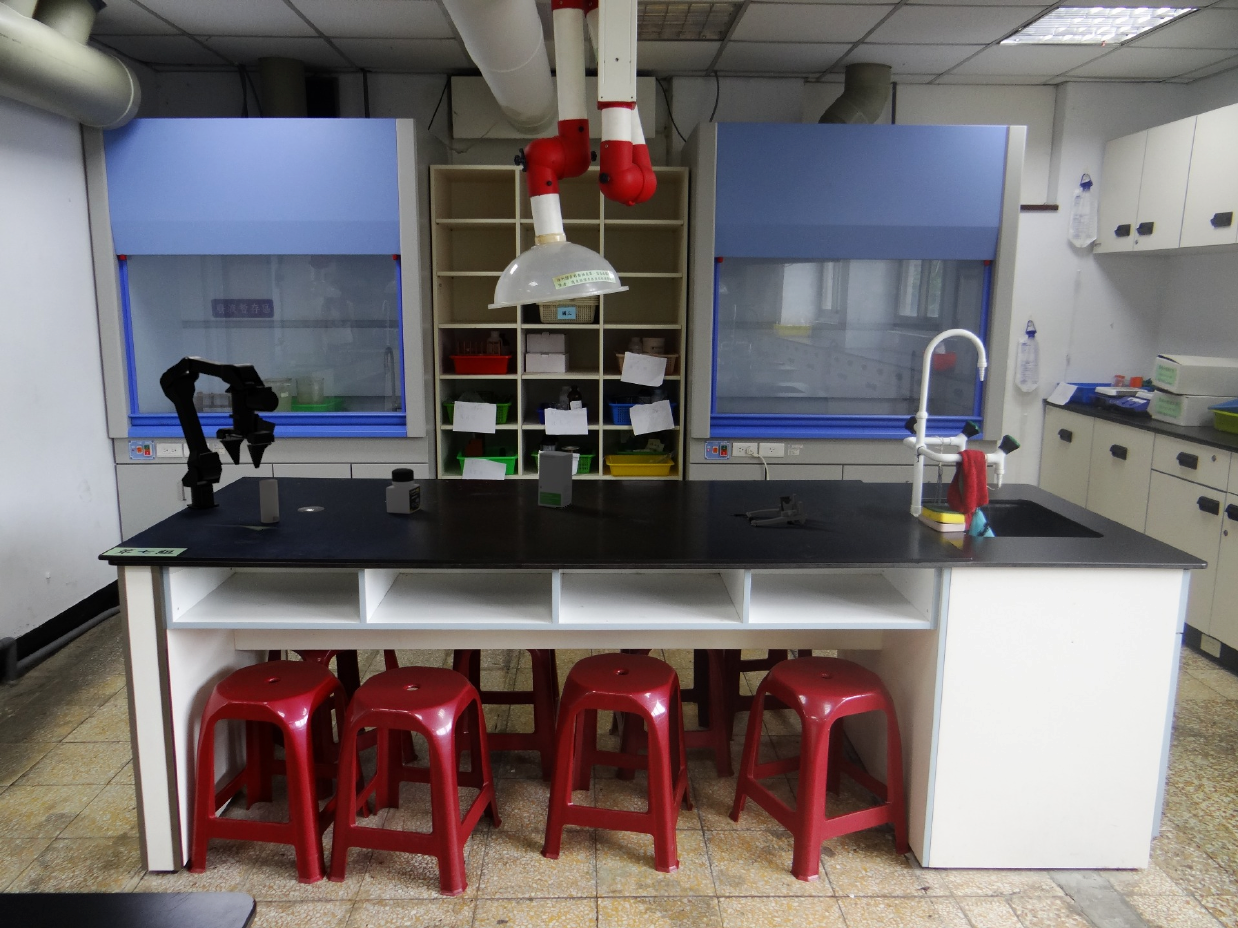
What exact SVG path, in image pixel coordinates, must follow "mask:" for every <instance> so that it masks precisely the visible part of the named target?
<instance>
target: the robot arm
mask: <svg viewBox="0 0 1238 928" xmlns="http://www.w3.org/2000/svg"><path fill="white" fill-rule="evenodd" d="M200 374H202V375H206V376H211V377H216V378H219V379H221V380H222V382H223V383H225V384H227V385H229V386H228V387H227V388H226V389H225V390H224V393H225V394H230V400H231V412H232V413H229V414H228V418H230V419H232V426H230V427H223V428H218V429H217V430H216V432H215V436H216V439H217V440H219V443H220V444H221V445H222V446H223V448H224V449H225V451H226V452H227V454H228V455H229V458H231V460H232V463H233V464H234V465H235V466H239V465H240V463H241V462H240V461H241V445H242V443H243V442H244V440H246V441H247V443H248V444H246V446H247V450H248V452H249V456H250V459H251V462H252V465H253V467H254V469H260V467H261V463H262V459H263V456H264V453H265V450H266V449H267V448H268V447H269V446H271V445H273V443H275V442H276V437H275V434H274V433H275V429H276V424H277V423H275V422H272V421H269V420H265V419H263V417H260V414H259V412H264V413H265V412H266V413H273V412H275V411H276V410H277V409H278V407H279V404H280V403H279V402H280V400H279V397H278V395H277V393H276V392H275V391H273V387H272V386H271V385H269V386H268V385H267V386H266V385H265V383H264V381H263V380H262V378H261V376H260V375H259V373H258V372H257V370H256V368H255V366H254V365H253V364H252V363H226V362H222V361H217V360H212V359H209V358H203V357H201V356H199V355H195V356H194V355H193V356H184V357H182V358H181V359H180V361H178V362H177V363H176V364H174V365H172V366H171V367H169V368H167V370H166V371H164V372H163V373H162V374H161V376H160V378H159V385H160V388H161V389H162V393H163V394H164V396H165V397H166V398H167V399H168V400H169V401H170V402H171V403H172V404H173V405H174V409H175V411H176V415H177V417H178V421H179V424H180V427H181V430H182V433H183V437H184V440H185V443H186V445H187V449H188V452H189V454H188V457H187V461H186V466H187V471H186V472H185V474H184V475H183V476H182V478H181V483H182V486H183V487H184V488H190V499H191V503H187V504H186V507H187V508H192V509H196V510H201V509H206V508H211V507H216V506H217V507H218V506H220V503H219V502H215V491H214V485H216V484H220V482H221V477H222V473H223V462H222V461H221V457H220V453H219V452H218V451H213V450H211V449H210V447H209V446H208V442H207V439H206V437H205V436H206V435H205V433H204V431H203V427H202V424H201V421H200V418H199V415H198V411H197V408H196V405H195V402H194V397H195V393H196V384H195V383H196V382H197V381H198V380H199V378H200ZM257 412H258V413H257Z"/></svg>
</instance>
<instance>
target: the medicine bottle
mask: <svg viewBox="0 0 1238 928" xmlns="http://www.w3.org/2000/svg"><path fill="white" fill-rule="evenodd" d="M391 484H392V485H390V486H387V487H386V488H385V495H386V512H387V513H389V514H390V513H392V514H407V515H408V514H410V515H411V514H412V513H414V512H416V511H418V510H420V509H421V485H420V484H419V483H415V473H414V469H412V468H409V467H398V468H395V469H393V470H392V471H391Z"/></svg>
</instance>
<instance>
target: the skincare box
mask: <svg viewBox="0 0 1238 928" xmlns="http://www.w3.org/2000/svg"><path fill="white" fill-rule="evenodd" d="M538 456H539V458H538V461H539V462H538V497H537V499H538V501H537V505H538V506H540V507H548V508H549V507H550V508H556V507H564V508H566V507H568V506H567V505H569V504H570V503H571V504H572V495H573V494H572V493H573V492H572V491H573V490H572V489H573V464H574V463H573V461H574V453H573V452H564V451H556V450H546V451H542V452H540V453H539V454H538ZM565 506H566V507H565ZM569 506H570V505H569Z"/></svg>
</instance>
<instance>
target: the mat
mask: <svg viewBox="0 0 1238 928" xmlns="http://www.w3.org/2000/svg"><path fill="white" fill-rule="evenodd" d="M233 525H234V526H239V527H242V528H247V529H250V530H255V531H262V529H263V530H266V529H272V528H276V526H275V525H274V526H272V525H271V526H270V525H254V524H234V523H233ZM271 527H272V528H271Z"/></svg>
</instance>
